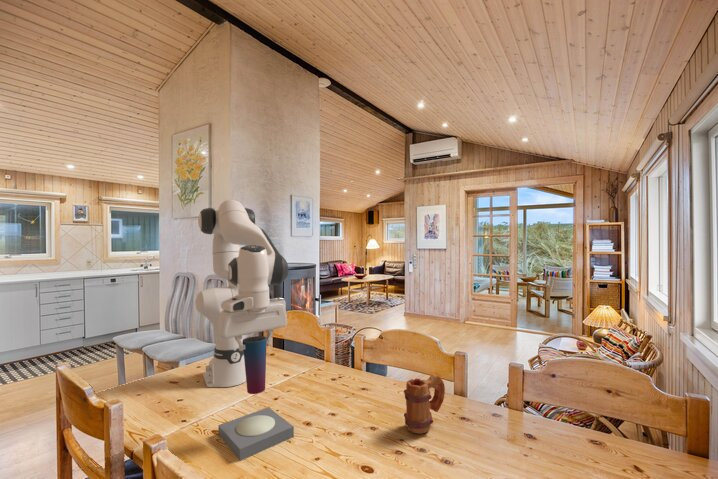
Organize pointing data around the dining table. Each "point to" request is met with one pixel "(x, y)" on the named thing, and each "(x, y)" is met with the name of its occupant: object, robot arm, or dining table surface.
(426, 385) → the mug
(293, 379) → the dining table surface
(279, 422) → the plinth
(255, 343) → the cup
